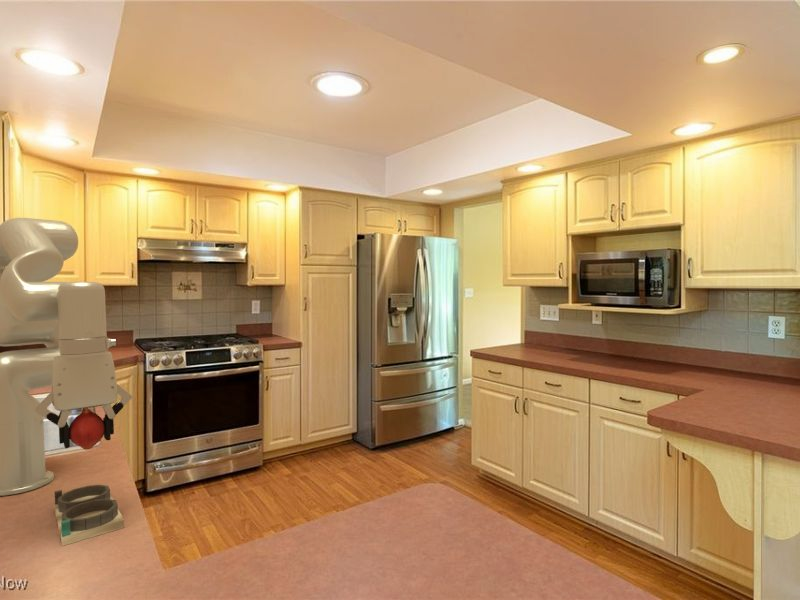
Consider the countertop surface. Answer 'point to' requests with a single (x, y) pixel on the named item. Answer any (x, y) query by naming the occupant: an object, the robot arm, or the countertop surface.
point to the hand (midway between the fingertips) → (87, 441)
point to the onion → (86, 429)
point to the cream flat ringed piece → (86, 513)
